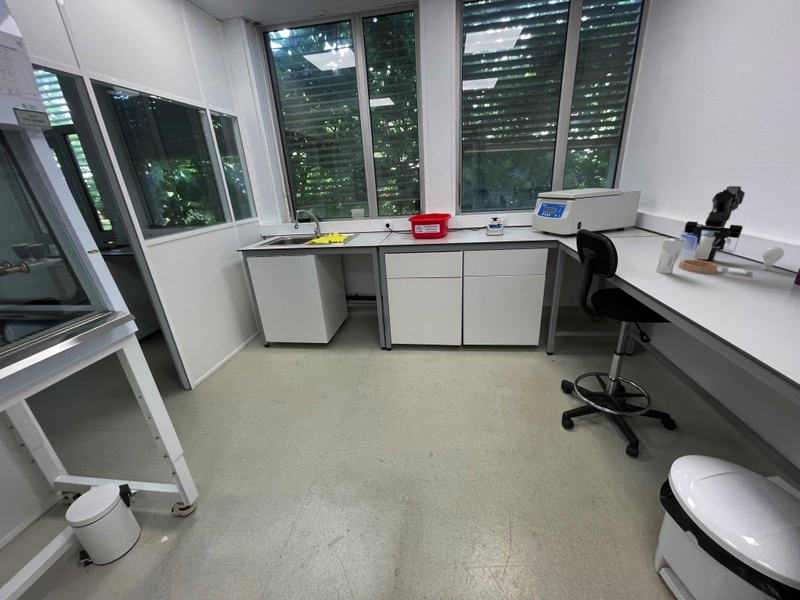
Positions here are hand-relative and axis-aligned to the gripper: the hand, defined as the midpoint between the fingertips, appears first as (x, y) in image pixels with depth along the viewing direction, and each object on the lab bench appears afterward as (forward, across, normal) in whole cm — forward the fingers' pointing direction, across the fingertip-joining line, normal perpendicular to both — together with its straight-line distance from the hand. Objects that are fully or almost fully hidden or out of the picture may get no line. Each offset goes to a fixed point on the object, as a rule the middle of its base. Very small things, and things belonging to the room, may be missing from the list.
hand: (705, 244), depth 143 cm
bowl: (+8, 0, +10) cm, 12 cm away
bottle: (+4, 0, +6) cm, 7 cm away
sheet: (+4, +13, +13) cm, 19 cm away
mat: (+4, +13, +13) cm, 19 cm away
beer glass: (+18, -10, -1) cm, 20 cm away
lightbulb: (-6, +21, +24) cm, 32 cm away
